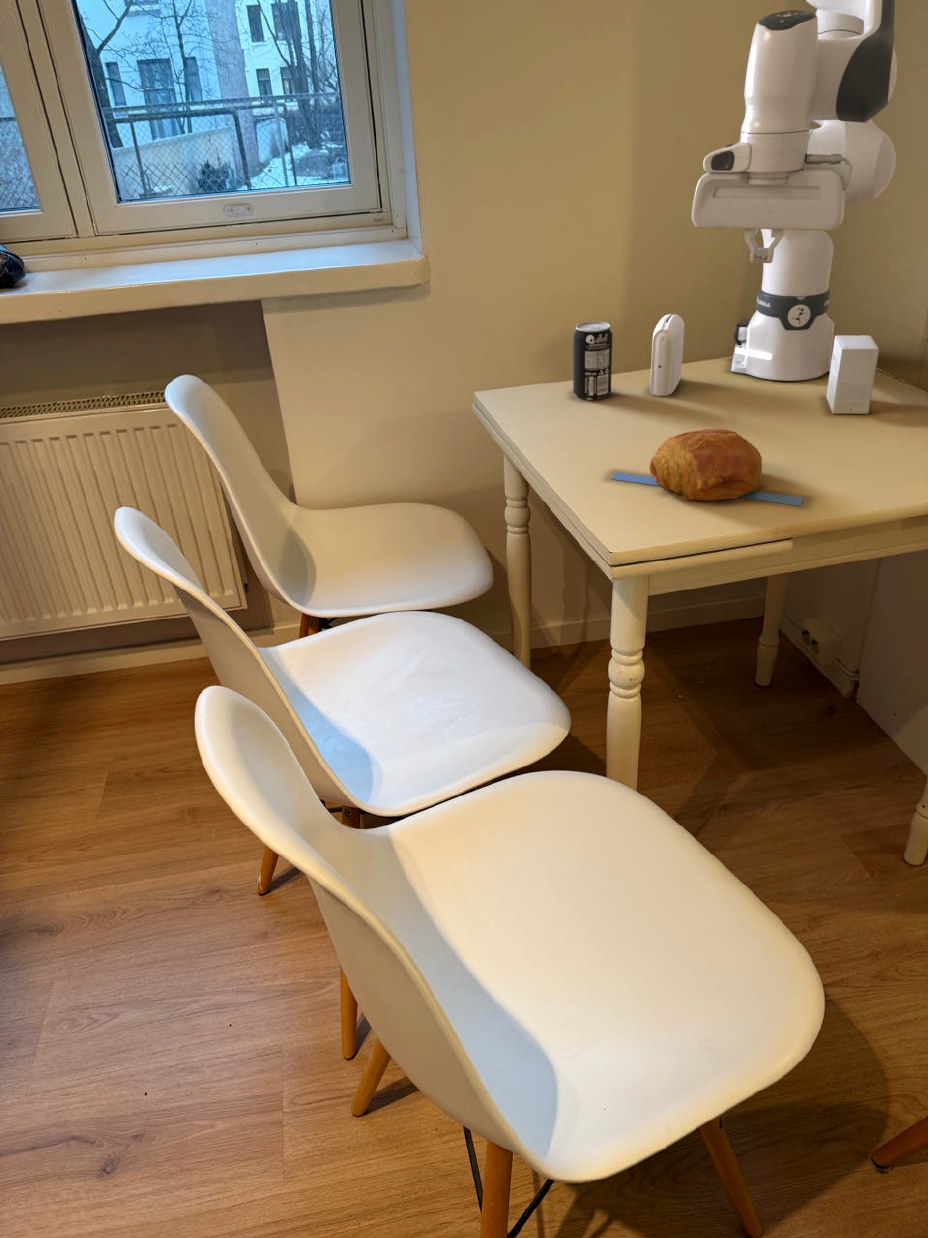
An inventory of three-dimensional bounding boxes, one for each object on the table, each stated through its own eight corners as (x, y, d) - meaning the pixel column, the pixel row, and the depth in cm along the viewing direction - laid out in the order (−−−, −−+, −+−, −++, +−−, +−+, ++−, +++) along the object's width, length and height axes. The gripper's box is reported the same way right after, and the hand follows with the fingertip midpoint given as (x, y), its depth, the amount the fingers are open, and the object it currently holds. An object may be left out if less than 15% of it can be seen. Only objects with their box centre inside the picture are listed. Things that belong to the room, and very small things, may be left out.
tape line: (617, 472, 135) (617, 472, 135) (803, 498, 125) (803, 497, 125) (611, 479, 134) (611, 478, 133) (800, 505, 123) (800, 505, 123)
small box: (868, 414, 149) (880, 348, 143) (831, 414, 150) (841, 348, 144) (860, 398, 156) (871, 334, 150) (825, 397, 157) (835, 334, 151)
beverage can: (584, 386, 169) (585, 319, 162) (617, 391, 165) (619, 323, 159) (566, 397, 164) (566, 328, 158) (599, 403, 161) (600, 332, 155)
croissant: (643, 481, 137) (637, 429, 133) (748, 459, 137) (746, 406, 133) (668, 521, 125) (663, 465, 121) (784, 496, 124) (783, 440, 120)
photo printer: (671, 397, 161) (676, 324, 155) (647, 395, 163) (650, 323, 156) (683, 379, 169) (688, 309, 163) (659, 377, 171) (663, 308, 164)
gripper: (857, 150, 124) (841, 260, 131) (704, 152, 132) (697, 254, 140) (850, 156, 119) (834, 269, 127) (692, 157, 128) (685, 263, 135)
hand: (761, 262), depth 133 cm, fingers closed
